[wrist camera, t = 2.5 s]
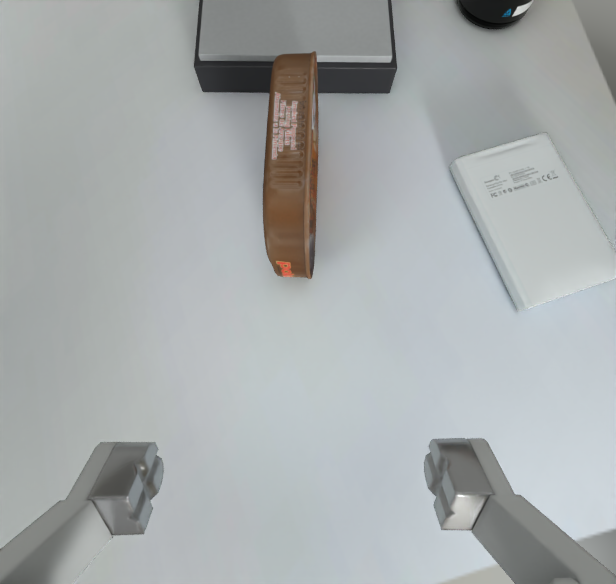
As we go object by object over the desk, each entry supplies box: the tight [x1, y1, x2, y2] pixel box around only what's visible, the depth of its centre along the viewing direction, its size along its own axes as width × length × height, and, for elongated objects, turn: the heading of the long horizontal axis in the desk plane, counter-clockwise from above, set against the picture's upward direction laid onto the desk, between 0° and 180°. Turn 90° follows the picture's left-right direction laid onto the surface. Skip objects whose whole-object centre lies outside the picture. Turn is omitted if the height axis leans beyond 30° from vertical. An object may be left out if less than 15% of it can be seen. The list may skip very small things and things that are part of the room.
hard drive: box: [449, 132, 616, 311], centre depth 26 cm, size 2×8×12 cm
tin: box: [263, 51, 318, 279], centre depth 23 cm, size 15×3×8 cm, turn 178°
